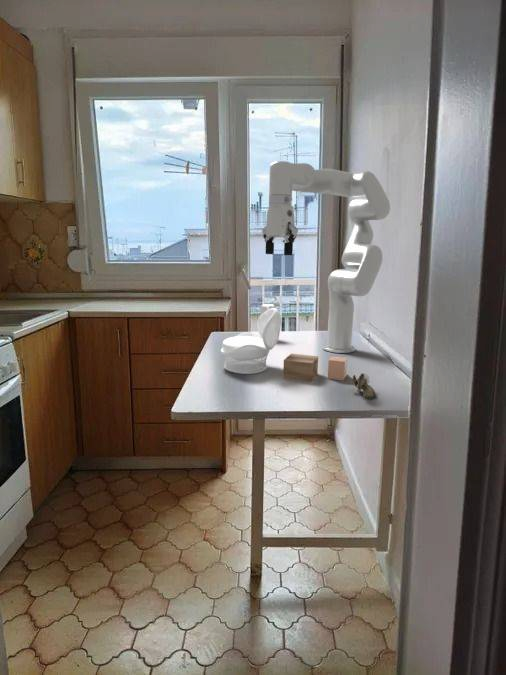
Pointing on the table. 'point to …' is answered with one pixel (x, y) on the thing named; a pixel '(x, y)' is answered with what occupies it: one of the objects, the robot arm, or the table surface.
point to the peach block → (337, 368)
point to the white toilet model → (252, 345)
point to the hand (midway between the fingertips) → (278, 254)
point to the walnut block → (300, 367)
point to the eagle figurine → (363, 386)
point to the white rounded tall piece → (266, 307)
